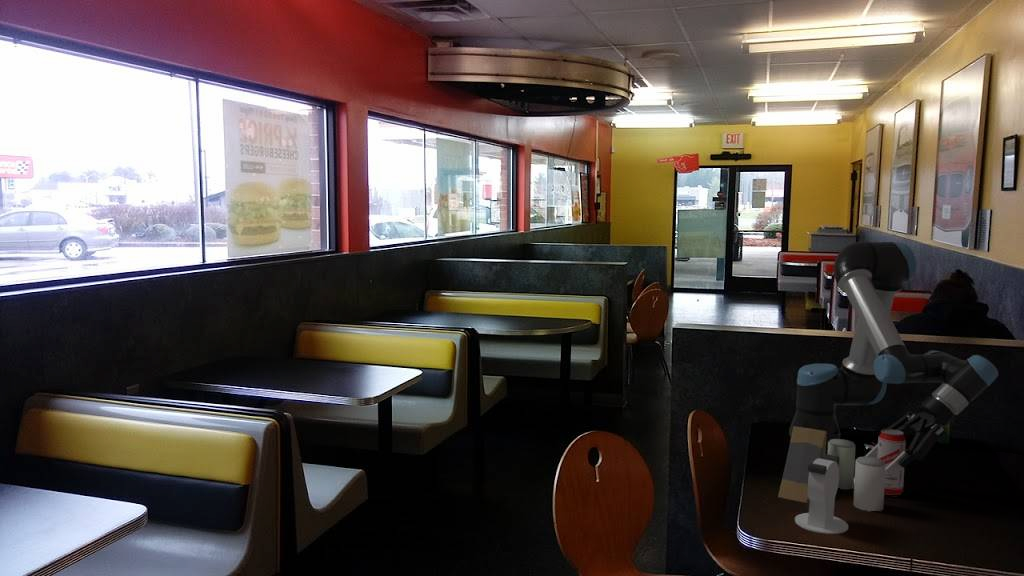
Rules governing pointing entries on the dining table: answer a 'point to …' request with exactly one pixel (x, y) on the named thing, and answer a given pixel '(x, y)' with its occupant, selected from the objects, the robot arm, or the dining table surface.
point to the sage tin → (844, 461)
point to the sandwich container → (801, 462)
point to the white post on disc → (822, 497)
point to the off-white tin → (869, 484)
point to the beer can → (891, 458)
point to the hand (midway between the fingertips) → (878, 466)
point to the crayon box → (945, 435)
